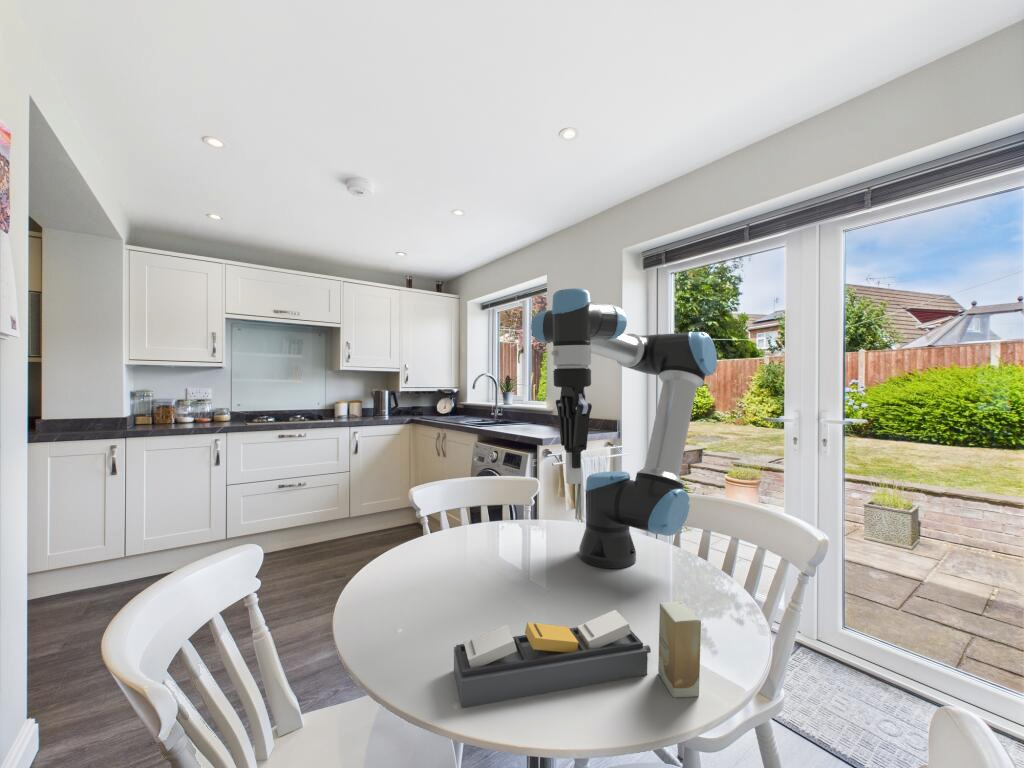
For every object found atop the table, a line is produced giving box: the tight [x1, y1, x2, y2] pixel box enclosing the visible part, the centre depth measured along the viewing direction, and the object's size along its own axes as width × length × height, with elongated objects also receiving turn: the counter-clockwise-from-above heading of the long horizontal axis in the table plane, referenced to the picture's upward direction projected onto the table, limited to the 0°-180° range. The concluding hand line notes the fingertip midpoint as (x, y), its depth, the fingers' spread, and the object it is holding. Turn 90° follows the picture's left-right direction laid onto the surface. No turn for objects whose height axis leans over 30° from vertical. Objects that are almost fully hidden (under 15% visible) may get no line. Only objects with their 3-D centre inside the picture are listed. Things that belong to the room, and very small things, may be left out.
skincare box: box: [657, 600, 702, 698], centre depth 74 cm, size 6×4×12 cm
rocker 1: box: [463, 624, 517, 668], centre depth 74 cm, size 8×5×2 cm, turn 104°
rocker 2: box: [576, 609, 632, 649], centre depth 79 cm, size 8×5×2 cm, turn 104°
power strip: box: [453, 627, 652, 708], centre depth 77 cm, size 34×9×5 cm, turn 104°
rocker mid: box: [524, 621, 579, 653], centre depth 77 cm, size 8×5×2 cm, turn 105°
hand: (573, 482), depth 94 cm, fingers closed
